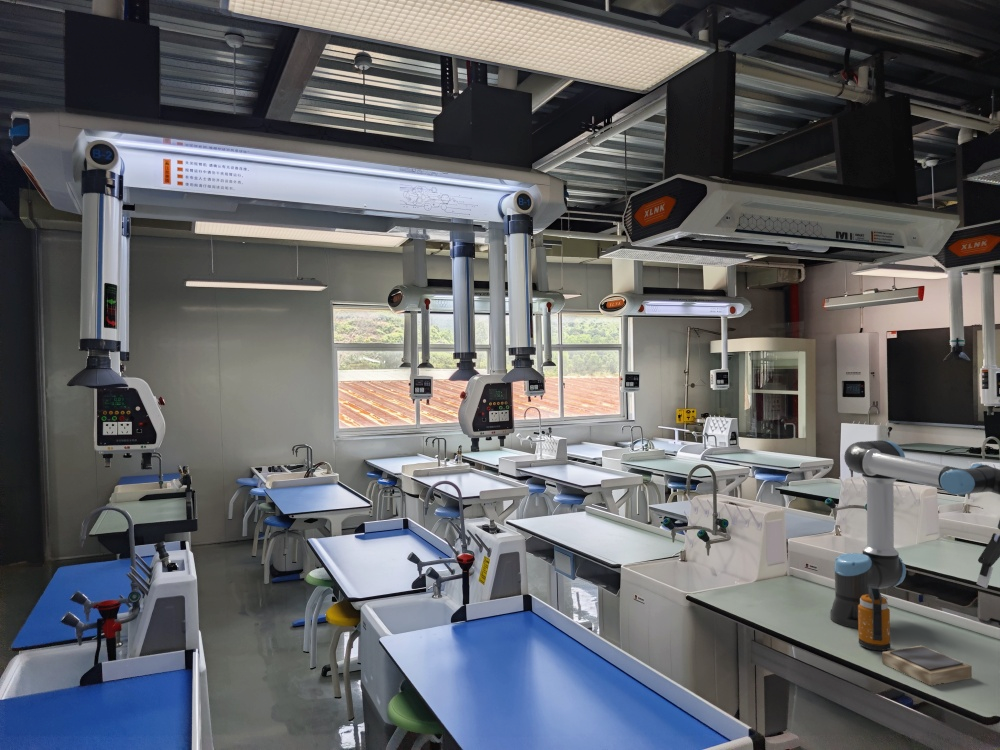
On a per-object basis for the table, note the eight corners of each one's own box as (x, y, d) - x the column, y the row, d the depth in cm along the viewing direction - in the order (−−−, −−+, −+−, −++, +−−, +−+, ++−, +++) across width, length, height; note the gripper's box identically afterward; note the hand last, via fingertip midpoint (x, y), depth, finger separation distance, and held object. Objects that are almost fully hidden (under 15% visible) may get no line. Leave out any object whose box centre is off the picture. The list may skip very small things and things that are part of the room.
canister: (886, 643, 219) (885, 582, 219) (894, 656, 209) (893, 592, 209) (856, 639, 222) (855, 580, 222) (862, 652, 212) (861, 589, 212)
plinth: (882, 663, 203) (882, 650, 203) (921, 656, 208) (921, 643, 208) (930, 686, 188) (930, 671, 188) (971, 678, 193) (971, 664, 193)
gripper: (1003, 523, 192) (982, 591, 195) (1054, 527, 202) (1033, 592, 204) (976, 513, 199) (957, 579, 201) (1027, 517, 208) (1007, 580, 211)
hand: (995, 586), depth 203 cm, fingers open, 13 cm apart
